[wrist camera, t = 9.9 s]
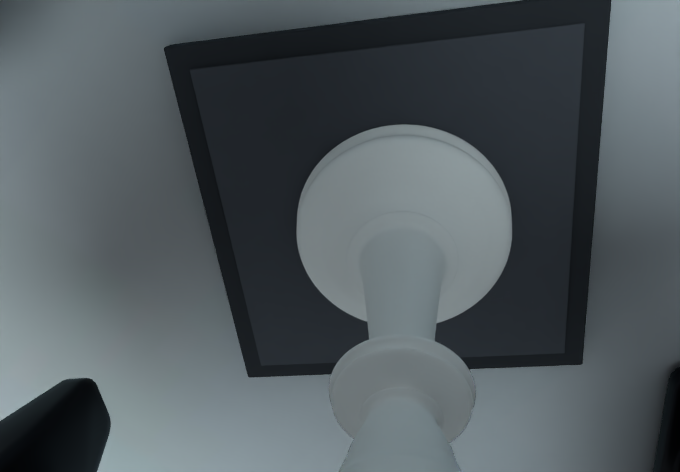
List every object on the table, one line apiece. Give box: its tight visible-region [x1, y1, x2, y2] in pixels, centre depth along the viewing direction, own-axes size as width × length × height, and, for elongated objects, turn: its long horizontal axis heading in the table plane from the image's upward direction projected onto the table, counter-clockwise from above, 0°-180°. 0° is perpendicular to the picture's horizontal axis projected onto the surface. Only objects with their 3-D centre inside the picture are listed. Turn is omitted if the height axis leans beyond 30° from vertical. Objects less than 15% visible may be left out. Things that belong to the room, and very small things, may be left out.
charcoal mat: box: [164, 0, 611, 377], centre depth 14 cm, size 9×9×1 cm
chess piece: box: [296, 124, 512, 472], centre depth 9 cm, size 5×5×10 cm
